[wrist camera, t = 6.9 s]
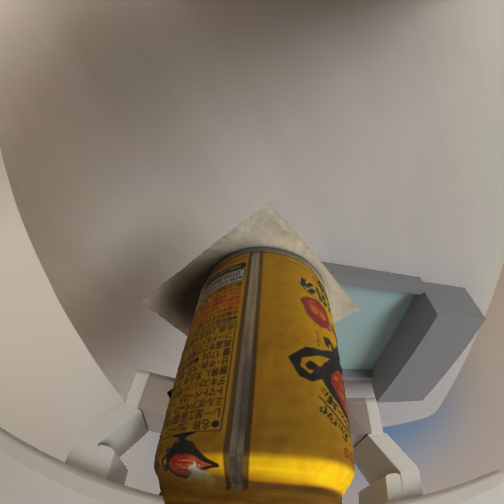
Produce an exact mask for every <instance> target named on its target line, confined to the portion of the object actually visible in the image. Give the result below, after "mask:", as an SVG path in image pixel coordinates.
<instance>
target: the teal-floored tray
mask: <svg viewBox="0 0 504 504" xmlns="http://www.w3.org/2000/svg"><path fill="white" fill-rule="evenodd" d="M321 263H322V264H323V265H324V266H325V267H326V269H327V270H328V271H329V272H330V274H331V275H332V276H333V277H334V279H335V280H336V281H337V282H338V284H339V285H340V286H341V288H342V289H343V290H344V292H345V293H346V294H347V295H348V296H349V298H350V299H351V301H352V302H353V303H354V304H355V306H356V307H357V308H358V310H359V312H356V313H353V314H351V315H349V316H347V317H345V318H343V319H341V320H340V321H338V322H337V323H335V324H334V325H335V328H336V338H337V343H338V353H339V356H340V365H341V367H342V377H343V381H367V382H370V381H372V385H373V389H374V394H375V398H376V401H377V402H401V401H418V400H423V399H424V398H425V397H426V396H427V395H428V394H429V392H430V391H431V390H432V389H433V388H434V387H435V386H436V384H437V383H438V382H439V381H440V380H441V378H442V377H443V376H444V375H445V374H446V372H447V371H448V370H449V369H450V367H451V366H452V365H453V364H454V362H455V361H456V360H457V358H458V357H459V356H460V355H461V353H462V352H463V351H464V349H465V348H466V346H467V345H468V344H469V342H470V341H471V339H472V338H473V337H474V335H475V334H476V332H477V331H478V329H479V328H480V326H481V325H482V323H483V322H484V320H485V317H484V316H483V314H482V313H481V311H480V310H479V308H478V307H477V305H476V304H475V302H474V301H473V299H472V298H471V296H470V295H469V294H468V292H467V291H466V289H465V288H460V287H454V286H447V285H440V284H434V283H427V282H422V280H421V278H419V277H413V276H407V275H401V274H395V273H388V272H382V271H376V270H370V269H363V268H357V267H351V266H345V265H338V264H332V263H326V262H321Z"/></svg>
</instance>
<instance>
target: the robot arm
mask: <svg viewBox="0 0 504 504" xmlns="http://www.w3.org/2000/svg"><path fill="white" fill-rule="evenodd" d="M175 379H176V378H172V377H167V376H163V375H159V374H154V373H151V372H147V371H143V370H139V369H138V370H137V372H136V373H135V375H134V378H133V381H132V383H131V386H130V388H129V391H128V394H127V396H126V399H125V402H124V404H119V405H117V406H116V407H115V408H113V409H112V410H110V411H109V412H108V413H106V414H105V415H103V416H102V417H100V418H99V419H97V420H96V421H95V422H93V423H91V424H90V425H89V426H87V427H86V428H84V429H83V430H81V431H80V432H78V433H77V434H76V436H75V438H74V441H73V444H72V446H71V449H70V451H69V454H68V456H67V459H66V462H63V461H60V460H58V459H56V458H54V457H52V456H50V455H48V454H46V453H44V452H42V451H40V450H38V449H37V448H35V447H33V446H31V445H29V444H27V443H26V442H24V441H22V440H20V439H19V438H17V437H15V436H14V435H12V434H10V433H9V432H7V431H6V430H4V429H2V428H1V427H0V504H165V502H164V499H163V496H160V495H156V494H152V493H148V492H145V491H141V490H138V489H134V488H131V487H128V486H125V485H124V484H125V479H126V476H127V472H128V470H127V468H126V466H125V465H124V464H123V463H122V461H121V460H120V459H119V457H120V456H121V455H122V454H124V453H125V452H126V451H127V450H128V449H129V448H130V447H132V446H133V445H134V444H135V443H136V442H137V441H138V440H139V439H141V438H142V437H143V436H144V435H145V434H146V433H147V432H148V430H149V431H154V432H158V433H161V431H162V427H163V422H164V419H165V416H166V412H167V407H168V405H169V401H170V397H171V393H172V389H173V387H174V383H175ZM346 404H347V410H348V418H349V424H350V433H351V439H352V444H353V447H354V451H353V461H354V463H355V464H356V465H357V467H358V468H359V470H360V471H361V473H362V474H363V475H364V477H365V478H366V480H367V481H368V483H369V484H370V485H369V486H367V487H366V488H364V489H362V490H361V491H360V492H359V504H504V472H503V471H502V470H496V471H493V472H491V473H488V474H486V475H483V476H481V477H478V478H476V479H473V480H470V481H467V482H465V483H462V484H459V485H456V486H453V487H450V488H447V489H444V490H440V491H436V492H433V493H429V494H426V495H423V492H422V486H421V480H420V475H419V469H418V467H417V466H416V465H415V464H414V463H413V462H412V461H411V460H410V459H409V458H408V457H407V455H406V454H405V453H404V452H403V451H402V450H401V449H400V448H399V447H398V446H397V445H396V443H395V442H394V441H393V440H392V439H391V438H390V437H389V436H388V434H387V433H383V430H382V424H381V419H380V414H379V410H378V405H377V401H376V400H375V399H374V398H346Z"/></svg>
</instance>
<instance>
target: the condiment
mask: <svg viewBox="0 0 504 504" xmlns="http://www.w3.org/2000/svg"><path fill="white" fill-rule="evenodd" d="M142 303H144V304H145V305H146V306H148V307H149V308H150V309H151V310H153V311H155V312H157V313H158V314H159V315H160V316H161V317H163V318H164V319H165V320H167V321H168V322H169V323H170V324H172V325H173V326H174V327H176V328H177V329H179V330H180V331H181V332H183V333H184V334H185V335H186V336H188V337H187V340H186V344H185V347H184V350H183V353H182V358H181V361H180V364H179V367H178V372H177V375H176V379H175V383H174V387H173V389H172V393H171V397H170V401H169V405H168V407H167V412H166V416H165V419H164V422H163V427H162V431H161V435H160V440H159V443H158V447H157V451H156V455H155V462H154V469H155V472H156V474H157V476H158V479H159V484H160V490H161V492H160V494H159V495H160V496H163V499H164V502H165V504H342V502H341V501H342V497H343V495H344V494H345V492H346V490H347V488H348V487H349V486H350V484H351V482H352V480H353V478H354V472H355V468H354V462H353V451H354V447H353V444H352V439H351V433H350V424H349V418H348V410H347V404H346V397H345V389H344V382H343V377H342V367H341V365H340V356H339V353H338V343H337V338H336V328H335V325H334V324H335V323H337V322H338V321H340V320H341V319H343V318H345V317H347V316H349V315H351V314H353V313H356V312H359V310H358V308H357V307H356V306H355V304H354V303H353V302H352V301H351V299H350V298H349V296H348V295H347V294H346V293H345V292H344V290H343V289H342V288H341V286H340V285H339V284H338V282H337V281H336V280H335V279H334V277H333V276H332V275H331V274H330V272H329V271H328V270H327V269H326V267H325V266H324V265H323V264H322V263H321V261H320V260H319V259H318V258H317V257H316V255H315V254H314V253H313V252H312V251H311V249H310V248H309V247H308V246H307V245H306V243H305V242H304V241H303V240H302V239H301V238H300V237H299V236H298V234H297V233H296V232H295V231H293V229H292V228H291V227H290V225H289V224H288V223H287V222H286V221H285V220H284V218H283V217H282V216H281V215H280V214H279V213H278V211H277V210H276V209H275V208H274V207H273V205H272V204H271V203H269V204H267V205H266V206H265V207H263V208H262V209H261V210H259V211H258V212H256V213H255V214H254V215H252V216H251V217H250V218H248V219H247V220H245V221H244V222H243V223H241V224H240V225H239V226H237V227H236V228H234V229H233V230H232V231H231V232H230V233H229V234H227V235H226V236H224V237H222V238H221V239H220V240H219V241H217V242H216V243H214V244H213V245H212V246H211V247H210V248H209V249H207V250H206V251H204V252H203V253H202V254H201V255H199V256H198V257H197V258H196V259H194V260H193V261H192V262H191V263H190V264H189V265H187V266H186V267H185V268H184V269H183V270H181V271H180V272H178V273H177V274H175V275H174V276H173V277H172V278H170V279H169V280H168V281H166V282H165V283H164V284H163V285H161V286H160V287H159V288H158V289H157V290H156V291H155V292H154V293H152V294H151V295H150V296H148V297H147V298H146V299H144V300H143V301H142Z"/></svg>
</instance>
